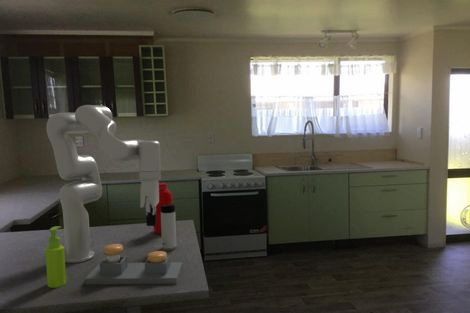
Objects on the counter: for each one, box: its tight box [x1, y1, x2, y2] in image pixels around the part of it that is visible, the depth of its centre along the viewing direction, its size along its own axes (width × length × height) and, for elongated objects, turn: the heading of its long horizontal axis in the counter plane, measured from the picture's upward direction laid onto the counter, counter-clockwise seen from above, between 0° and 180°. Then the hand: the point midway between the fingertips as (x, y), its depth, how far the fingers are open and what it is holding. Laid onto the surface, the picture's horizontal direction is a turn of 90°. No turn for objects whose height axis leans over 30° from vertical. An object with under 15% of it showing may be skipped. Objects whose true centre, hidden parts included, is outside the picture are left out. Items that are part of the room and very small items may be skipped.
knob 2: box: [147, 250, 168, 263], centre depth 134 cm, size 7×7×6 cm
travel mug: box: [160, 204, 177, 252], centre depth 161 cm, size 6×7×20 cm
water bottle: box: [153, 182, 173, 235], centre depth 185 cm, size 9×11×25 cm
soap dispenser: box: [45, 225, 67, 289], centre depth 127 cm, size 6×7×20 cm
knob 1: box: [102, 243, 124, 263], centre depth 133 cm, size 7×7×6 cm
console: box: [84, 255, 183, 285], centre depth 134 cm, size 32×14×6 cm, turn 90°
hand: (151, 225), depth 132 cm, fingers closed
